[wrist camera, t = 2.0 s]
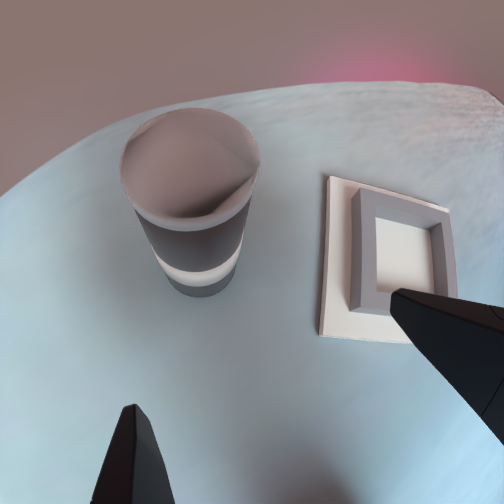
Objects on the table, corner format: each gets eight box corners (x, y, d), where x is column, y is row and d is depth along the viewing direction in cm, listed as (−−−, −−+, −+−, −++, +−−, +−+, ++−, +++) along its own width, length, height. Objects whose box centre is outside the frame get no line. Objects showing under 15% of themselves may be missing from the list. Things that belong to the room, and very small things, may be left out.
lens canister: (248, 249, 25) (282, 138, 12) (214, 311, 22) (214, 246, 10) (187, 217, 25) (172, 94, 13) (150, 275, 23) (92, 181, 11)
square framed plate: (452, 344, 24) (473, 340, 21) (318, 336, 23) (332, 331, 20) (443, 213, 29) (459, 200, 26) (326, 181, 28) (337, 162, 25)
